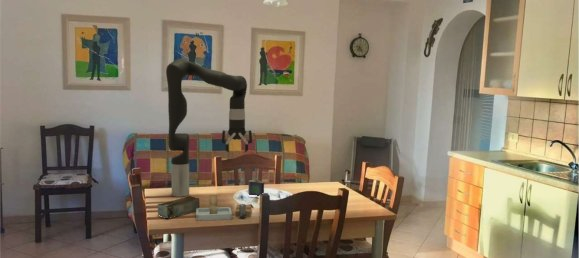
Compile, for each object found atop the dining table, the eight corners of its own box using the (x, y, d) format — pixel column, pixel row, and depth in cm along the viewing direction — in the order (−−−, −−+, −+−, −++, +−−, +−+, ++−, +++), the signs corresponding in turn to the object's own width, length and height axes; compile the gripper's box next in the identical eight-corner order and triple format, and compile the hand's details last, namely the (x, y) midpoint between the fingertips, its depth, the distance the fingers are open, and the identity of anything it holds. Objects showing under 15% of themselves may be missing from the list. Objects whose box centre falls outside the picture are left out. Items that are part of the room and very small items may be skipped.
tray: (196, 213, 222) (196, 208, 222) (230, 212, 225) (230, 207, 224) (195, 220, 211) (195, 215, 211) (231, 219, 214) (231, 214, 214)
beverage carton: (156, 216, 217) (156, 202, 216) (189, 207, 232) (189, 194, 231) (167, 220, 212) (167, 205, 211) (200, 211, 227) (200, 197, 226)
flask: (247, 197, 252) (247, 177, 251) (250, 195, 255) (250, 176, 253) (262, 199, 248) (263, 179, 247) (265, 198, 251) (265, 178, 249)
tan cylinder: (209, 213, 219) (209, 194, 218) (217, 212, 220) (217, 194, 219) (209, 215, 216) (209, 196, 215) (217, 215, 216) (217, 196, 215)
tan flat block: (236, 211, 228) (236, 205, 228) (251, 211, 228) (251, 205, 228) (235, 217, 218) (235, 211, 218) (250, 217, 219) (250, 211, 218)
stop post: (239, 216, 218) (239, 204, 217) (245, 216, 218) (245, 204, 218) (239, 218, 215) (239, 206, 214) (246, 218, 216) (246, 205, 215)
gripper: (221, 119, 218) (221, 153, 220) (252, 119, 220) (252, 153, 222) (221, 117, 225) (221, 150, 227) (251, 117, 227) (251, 150, 229)
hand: (236, 151), depth 225 cm, fingers open, 8 cm apart
